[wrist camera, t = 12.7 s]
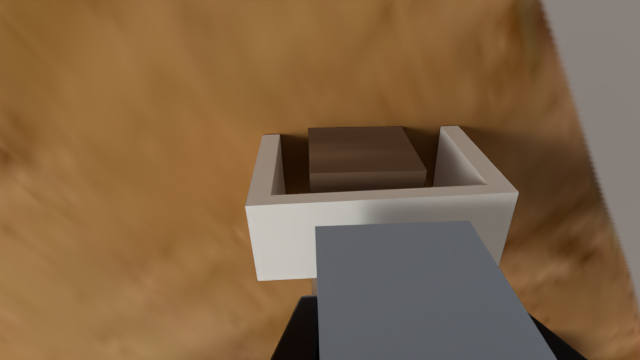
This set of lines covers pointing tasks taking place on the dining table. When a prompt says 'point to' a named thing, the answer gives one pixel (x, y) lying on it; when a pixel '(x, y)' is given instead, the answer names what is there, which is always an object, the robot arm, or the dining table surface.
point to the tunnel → (373, 206)
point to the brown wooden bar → (362, 161)
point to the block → (417, 296)
